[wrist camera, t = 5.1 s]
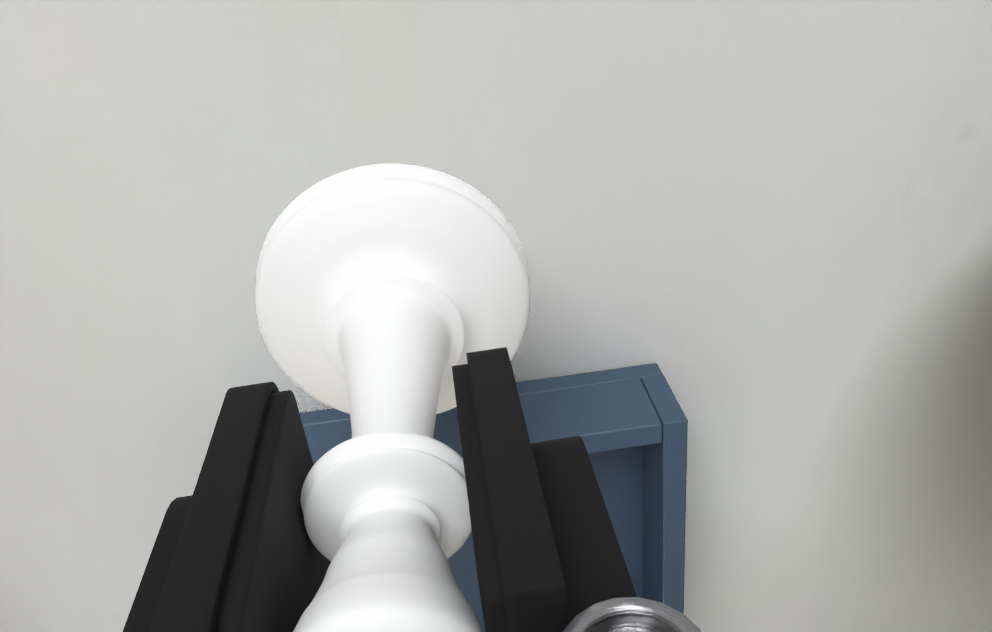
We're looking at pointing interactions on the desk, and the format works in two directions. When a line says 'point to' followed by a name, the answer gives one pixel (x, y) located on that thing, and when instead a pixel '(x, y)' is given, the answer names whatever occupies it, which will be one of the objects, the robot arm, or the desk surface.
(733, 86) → the desk surface
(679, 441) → the tray
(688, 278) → the desk surface
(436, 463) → the chess piece
